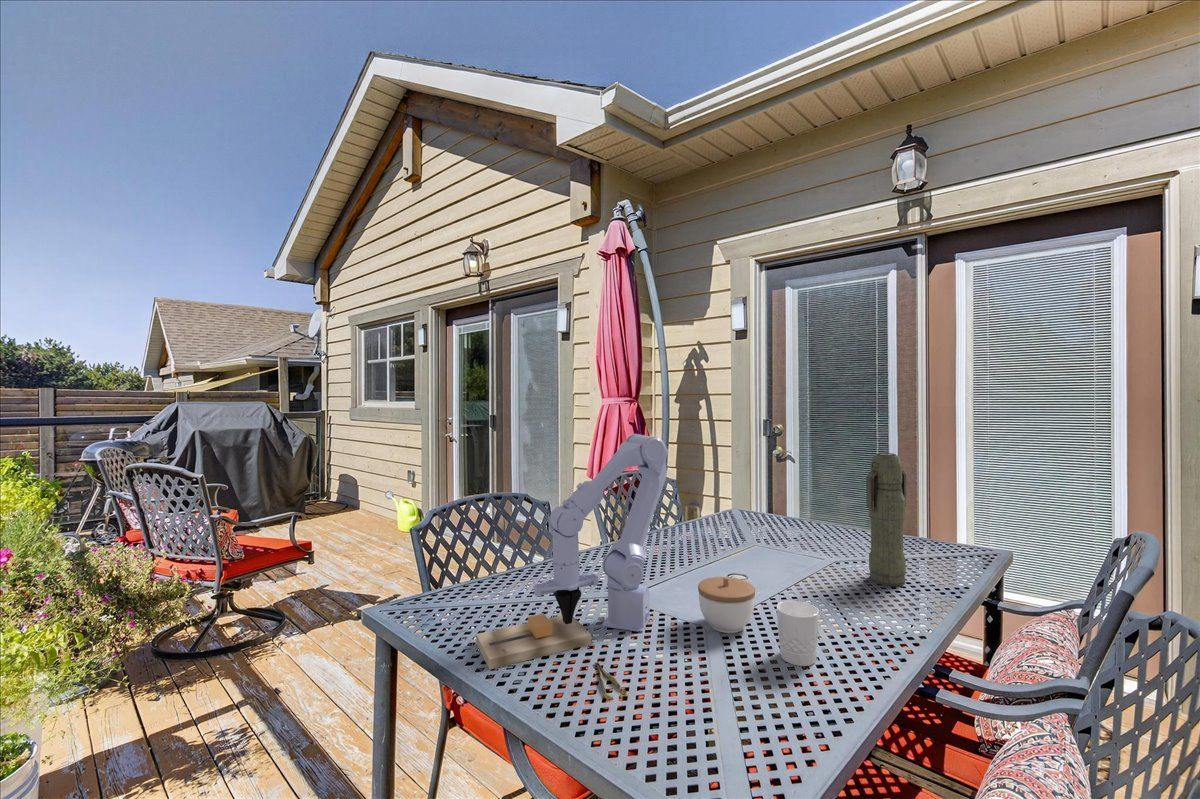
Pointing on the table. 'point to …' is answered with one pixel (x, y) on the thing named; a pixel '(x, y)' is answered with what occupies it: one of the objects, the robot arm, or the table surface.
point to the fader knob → (539, 625)
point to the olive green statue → (886, 519)
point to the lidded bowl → (726, 603)
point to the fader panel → (529, 642)
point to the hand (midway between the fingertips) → (567, 622)
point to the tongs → (612, 679)
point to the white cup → (798, 632)
